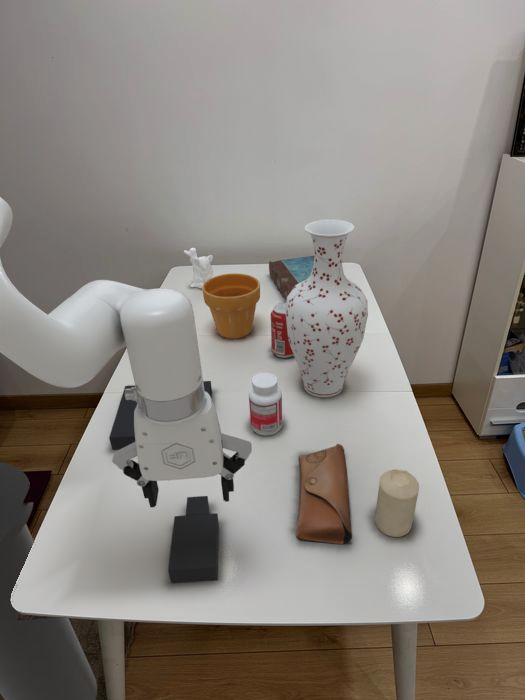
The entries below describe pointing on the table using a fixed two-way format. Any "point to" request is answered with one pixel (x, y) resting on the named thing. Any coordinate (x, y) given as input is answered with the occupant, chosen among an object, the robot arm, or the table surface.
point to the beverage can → (280, 332)
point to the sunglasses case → (324, 497)
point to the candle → (396, 502)
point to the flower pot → (232, 303)
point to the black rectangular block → (194, 543)
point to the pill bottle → (265, 404)
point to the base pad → (131, 420)
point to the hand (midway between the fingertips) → (190, 496)
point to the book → (290, 272)
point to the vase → (326, 313)
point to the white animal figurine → (200, 268)
